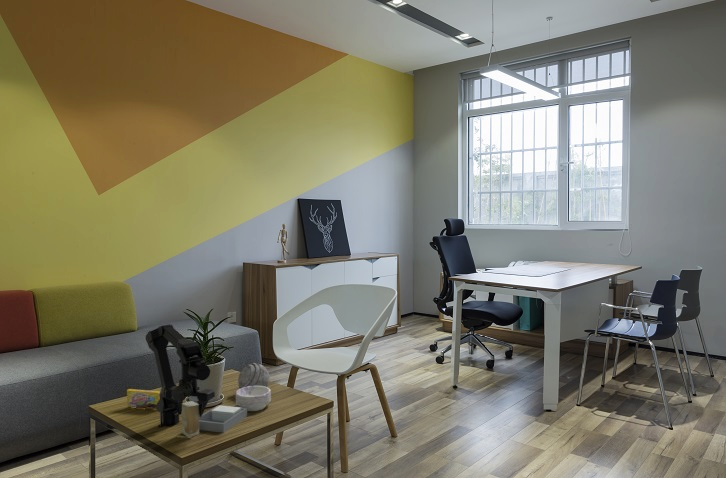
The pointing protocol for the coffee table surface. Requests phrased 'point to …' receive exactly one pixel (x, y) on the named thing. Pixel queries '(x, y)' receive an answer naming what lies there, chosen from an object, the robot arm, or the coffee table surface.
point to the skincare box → (190, 419)
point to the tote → (220, 426)
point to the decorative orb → (253, 376)
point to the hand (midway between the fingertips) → (190, 415)
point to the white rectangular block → (224, 412)
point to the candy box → (142, 398)
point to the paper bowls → (253, 397)
